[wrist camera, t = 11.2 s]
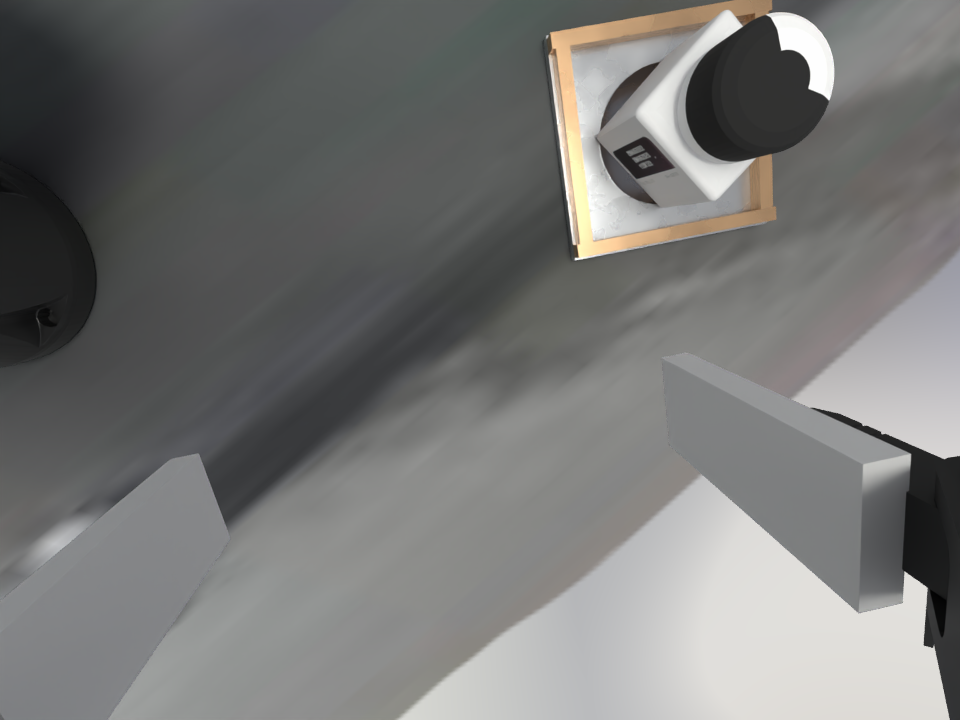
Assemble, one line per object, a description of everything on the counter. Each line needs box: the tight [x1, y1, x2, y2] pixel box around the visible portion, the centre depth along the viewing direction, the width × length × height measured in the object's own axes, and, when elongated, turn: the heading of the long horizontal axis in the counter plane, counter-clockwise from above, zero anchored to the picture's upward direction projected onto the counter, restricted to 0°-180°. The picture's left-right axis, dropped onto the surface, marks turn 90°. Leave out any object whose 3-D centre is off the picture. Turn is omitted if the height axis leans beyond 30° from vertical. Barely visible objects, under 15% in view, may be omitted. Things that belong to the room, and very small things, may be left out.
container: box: [597, 10, 834, 208], centre depth 30 cm, size 8×8×13 cm
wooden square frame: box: [543, 0, 776, 260], centre depth 36 cm, size 16×16×2 cm
